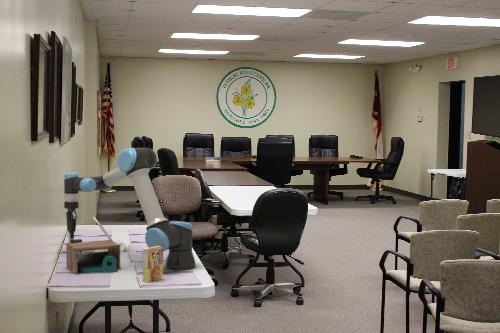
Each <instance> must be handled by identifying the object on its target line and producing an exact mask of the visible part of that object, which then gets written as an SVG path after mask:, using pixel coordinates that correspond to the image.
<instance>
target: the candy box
mask: <svg viewBox="0 0 500 333" xmlns="http://www.w3.org/2000/svg"><path fill="white" fill-rule="evenodd" d="M142 249H143V250H142V282H145V283H150V282H155V281H159V280H163V275H164V274H163V272H164V271H163V270H164V268H163V267H164V251H163V247H161V246H155V247H148V246H147V247H143V248H142Z"/></svg>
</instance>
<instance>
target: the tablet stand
mask: <svg viewBox="0 0 500 333" xmlns="http://www.w3.org/2000/svg"><path fill="white" fill-rule="evenodd" d="M93 220H94V221H95V223H96V224H97V225H98V226H99V228H100V230H101V232H103V234H104V235H105V236H106V237H107V240H111V241H113V242H115V243H117V244H119V245H120V253H122V252H124V251H126V250H127V249H128V246H127V245H126V244H125V243H124V242H123V241H122V240H121V239H120V238H119V239H117V240H116V241H114V240H113V238H112V237H111V236H110V235H109V233H108V231H106V229H105V228H104V226H103V225H102V224H101V222H99V220H98V219H97V218H96V217H95V216H93ZM103 251H108V249H100V250H92V252H103Z"/></svg>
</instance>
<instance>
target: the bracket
mask: <svg viewBox="0 0 500 333" xmlns="http://www.w3.org/2000/svg"><path fill="white" fill-rule="evenodd" d="M108 261H111V262H112V263H108ZM117 272H118V269H117V258H116V256H115V255H113V254H107V255H106V256H105V257H104V259H103V262H102V265H93V266H80V267H78V273H80V274H81V273H82V274H87V273H88V274H89V273H91V274H92V273H93V274H94V273H99V274H100V273H117Z"/></svg>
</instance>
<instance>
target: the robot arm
mask: <svg viewBox="0 0 500 333" xmlns="http://www.w3.org/2000/svg"><path fill="white" fill-rule="evenodd" d="M157 162H158V156H157V153H156V152H155V151H154V150H153V149H152V148H150V147H128V148H124V149H122V150H121V151H120V152H119V154H118V157H117V167H115V168H114V169H112V170H109V171H108V172H105V173H104V174H101V175H99V176H87V177H82V176H80V174H79V173H78V172H66V173H65V174H64V176H63V177H64V178H63V183H64V184H63V186H64V187H63V188H64V189H63V190H64V191H63V193H64V194H63V208H64V209H67V211H66V212H65V215H66V216H65V217H66V218H65V219H66V230H67V232H68V234H67V235H68V240H67V243H69V240H73V239H75V233H76V231H77V229H76V228H77V218H78V215H77V211H76V209H79V206H80V205H79V197H80V194H79V193H80V192H83V193H92V192H94V191H95V192H96V191H107V190H110V189H112V187H113V186H114V185H116V184H118V183H121V182H122V181H124V180H127V179H130V180H131V181H132V185H133V187H134V190H135V193H136V196H137V198H138V200H139V204H140V206H141V209H142V212H143V214H144V217H145V220H146V224H147V225H146V228H145V229H146V232H145V236H144V241H145V244H146V246H147V248H148V247H155V246H161V247H163V252H165V251H168V253H167V257H166V261H165V269H169V270H174V271H176V270H177V271H178V270H179V271H183V270H184V271H185V270H186V271H187V270H192V269H194V268H196V260H195V256H194V253H193V231H194V230H193V224H192V223H191V222H187V221H178V220H169V219H168V218H166V217H165V216H164V213H163V211H162V208H161V205H160V202H159V199H158V196H157V194H156V192H155V189H154V187H153V184H152V180H151V178H150V176H149V173H150V170H152V169H153V168H155V167H156V165H157Z"/></svg>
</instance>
